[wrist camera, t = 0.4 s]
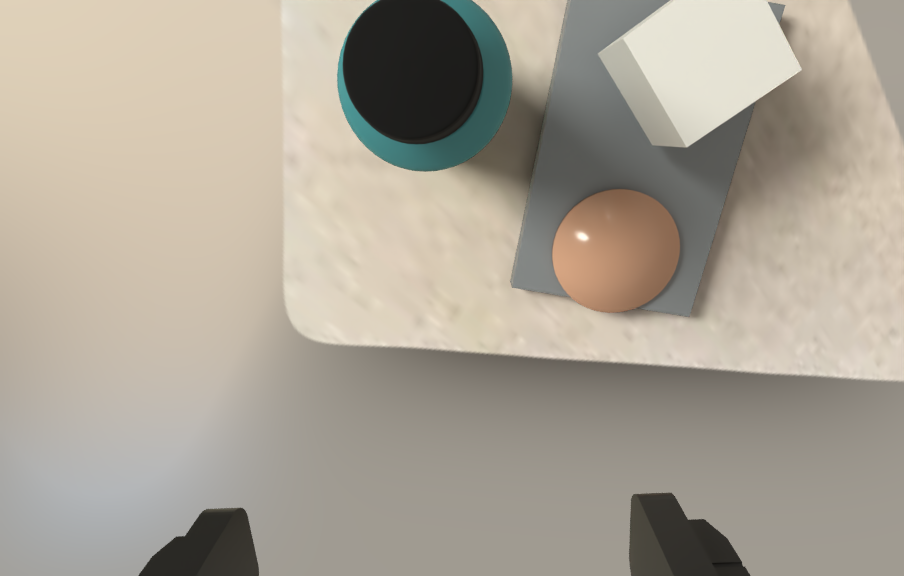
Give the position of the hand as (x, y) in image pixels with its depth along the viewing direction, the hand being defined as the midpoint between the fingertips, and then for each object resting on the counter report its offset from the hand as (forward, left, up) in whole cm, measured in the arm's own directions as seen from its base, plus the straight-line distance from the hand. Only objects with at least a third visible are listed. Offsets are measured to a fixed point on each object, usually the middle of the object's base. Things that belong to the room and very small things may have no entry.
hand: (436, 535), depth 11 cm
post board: (-8, +10, -26) cm, 29 cm away
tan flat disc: (-2, +10, -25) cm, 27 cm away
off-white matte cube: (-13, +10, -23) cm, 28 cm away
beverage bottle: (-9, -2, -27) cm, 28 cm away
